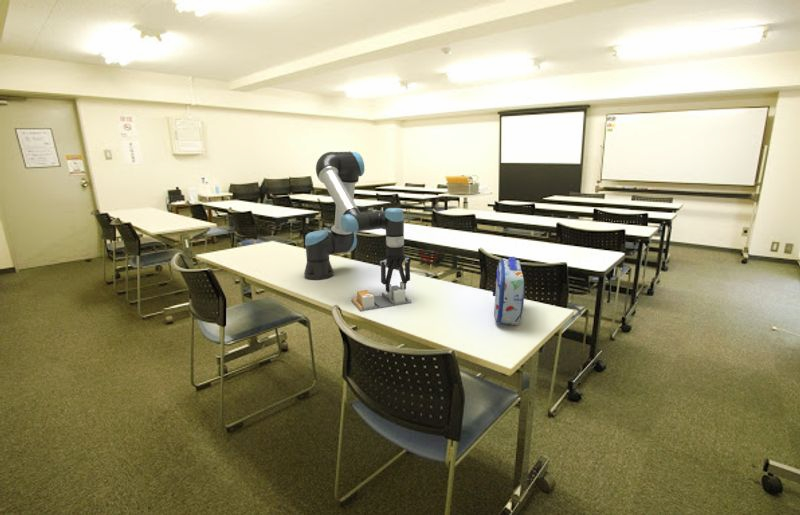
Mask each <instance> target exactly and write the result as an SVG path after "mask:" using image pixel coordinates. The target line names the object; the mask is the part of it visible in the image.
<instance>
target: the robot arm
mask: <svg viewBox="0 0 800 515" xmlns="http://www.w3.org/2000/svg"><path fill="white" fill-rule="evenodd" d="M364 173H365V162H364V159H363V157H362V156H361V154H360V153H359V152H357V151H328V152H326V153H325V152H324V153H323V154H322V155H321V156H320V157H319V158H318V159H317V162H316V164H315V174H316V176H317V177H316V178H318V180H319V181H320V182H321V184H323V185H324V187H325V188H326V190H327V192H328V194H329V195H330V197H331V199H332V201H333V202H334V204H335V215H334V216H335V217H334V225H333V226H331V230H330V232H328V230H324V229H323V230H314V231H311V232H309V233H307V234H306V235H305V237H304V239H305V240H304V245H305V254H306V256H305V257H306V264H305V268H304V274H303V275H304V279H307V280H315V281H317V280H318V281H320V280H327V279H330V278H331V277H333V276H335V275H334V274H335V273H334V269H333V266H332V263H331V261H330V255H331V256H332V255H337V254H342V253H343V254H345V253H350V252H352V251H354V249H356V247H357V243H358V238H357V233H358V232H364V231H373V230H385V245H386V247H385V250H386V251H385V253H386V256H385V259H384V260H380V261H379V265H380V283H382V284H383V285H385V292H386V293H387V295H388V297H389V298H390V299H392V288H391V286H392V284H391V281H392V276H393V272H394V269H395V268H397V269H398V272H399V276H400V279H401V281H400V282H399V287H400V288H401V289H403V290H405V291H406V290H407V283H408V282H409V281H411V265H410V264H411V260H412V259H411V258H409V257H406V256H405V246H404V245H405V217H404V210H403V208H399V207H388V208H386V209H385V211H384V210H381V209H379V210H377V209H376V210H373V211H370V212H369V211H368V212H361V211H360V209H359V208H358V206H357V204H356V203H355V200H354V198H355V197H354V196H355V189H356V188H355V187H356V184H357V183H359V178H360V177H362V176H363V175H364ZM356 232H357V233H356ZM387 264H388V265H387ZM403 264H404V266H403ZM386 266H387V267H386ZM386 268H387V270H386ZM386 271H387V272H386Z"/></svg>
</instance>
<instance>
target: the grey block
mask: <svg viewBox="0 0 800 515" xmlns="http://www.w3.org/2000/svg"><path fill="white" fill-rule="evenodd" d="M391 288H392V300H393V301H394V302H395V303H399V302H405V295H406V290H403V289H401V288H400V285H391Z"/></svg>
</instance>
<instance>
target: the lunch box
mask: <svg viewBox="0 0 800 515" xmlns="http://www.w3.org/2000/svg"><path fill="white" fill-rule="evenodd" d="M496 268H497V269H496V279H495V286H493V290H492V297H495V298H494V314H493V317H494V321H495V323H497V324H505V325H513V326H519V324H520V323H521V320H522V315H523V311H524V302H525V279H524V275H523V271H522V267H521V263H520V260H519V259H516V257H515V256H511V257H509V256H508V259H507V258H500V259H499V261H498V265H496Z"/></svg>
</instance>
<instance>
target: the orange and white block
mask: <svg viewBox="0 0 800 515" xmlns="http://www.w3.org/2000/svg"><path fill="white" fill-rule="evenodd" d="M356 297H357V298H356V299H357V302H358V303H359V304H360V305H361V306H362V307H363V308H370V307H375V306H374V297H375V295H374V294H372V293H371V292H370V291H369V290H368V289H364V290H358V291H356Z"/></svg>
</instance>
